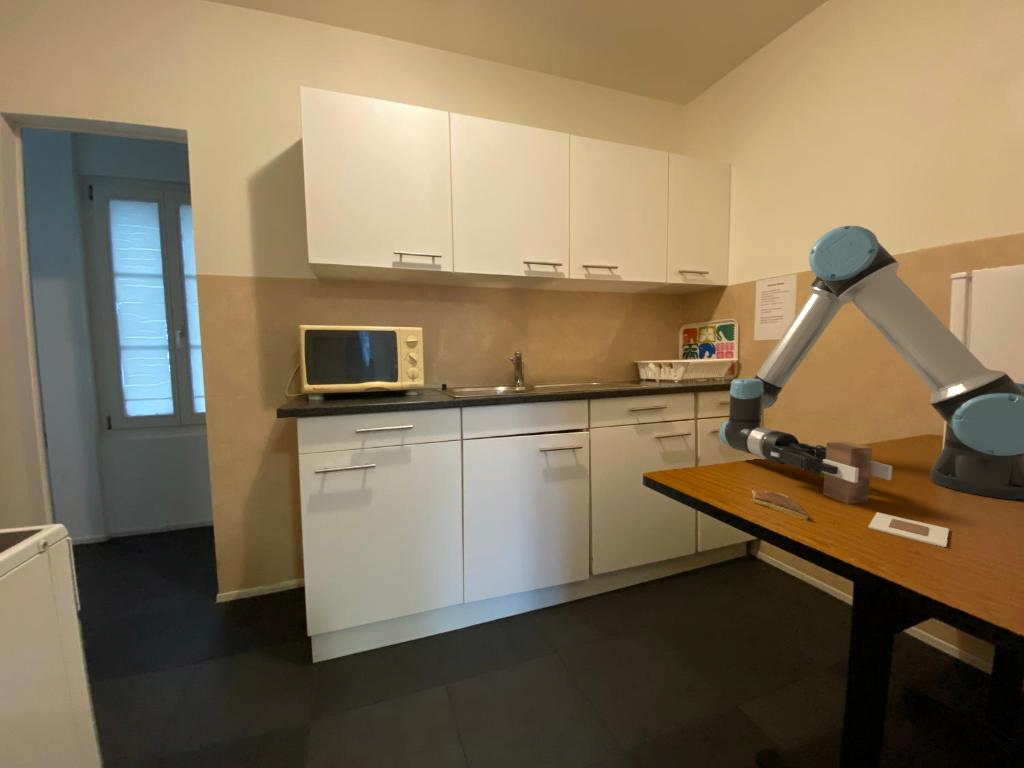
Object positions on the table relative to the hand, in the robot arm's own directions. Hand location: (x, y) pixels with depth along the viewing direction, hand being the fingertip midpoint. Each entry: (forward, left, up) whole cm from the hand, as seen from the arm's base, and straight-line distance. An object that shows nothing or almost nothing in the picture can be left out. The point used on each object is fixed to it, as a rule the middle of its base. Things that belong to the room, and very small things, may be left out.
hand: (873, 474), depth 76 cm
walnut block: (+4, -2, -7) cm, 8 cm away
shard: (+11, +11, -7) cm, 18 cm away
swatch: (-6, +8, -7) cm, 12 cm away
